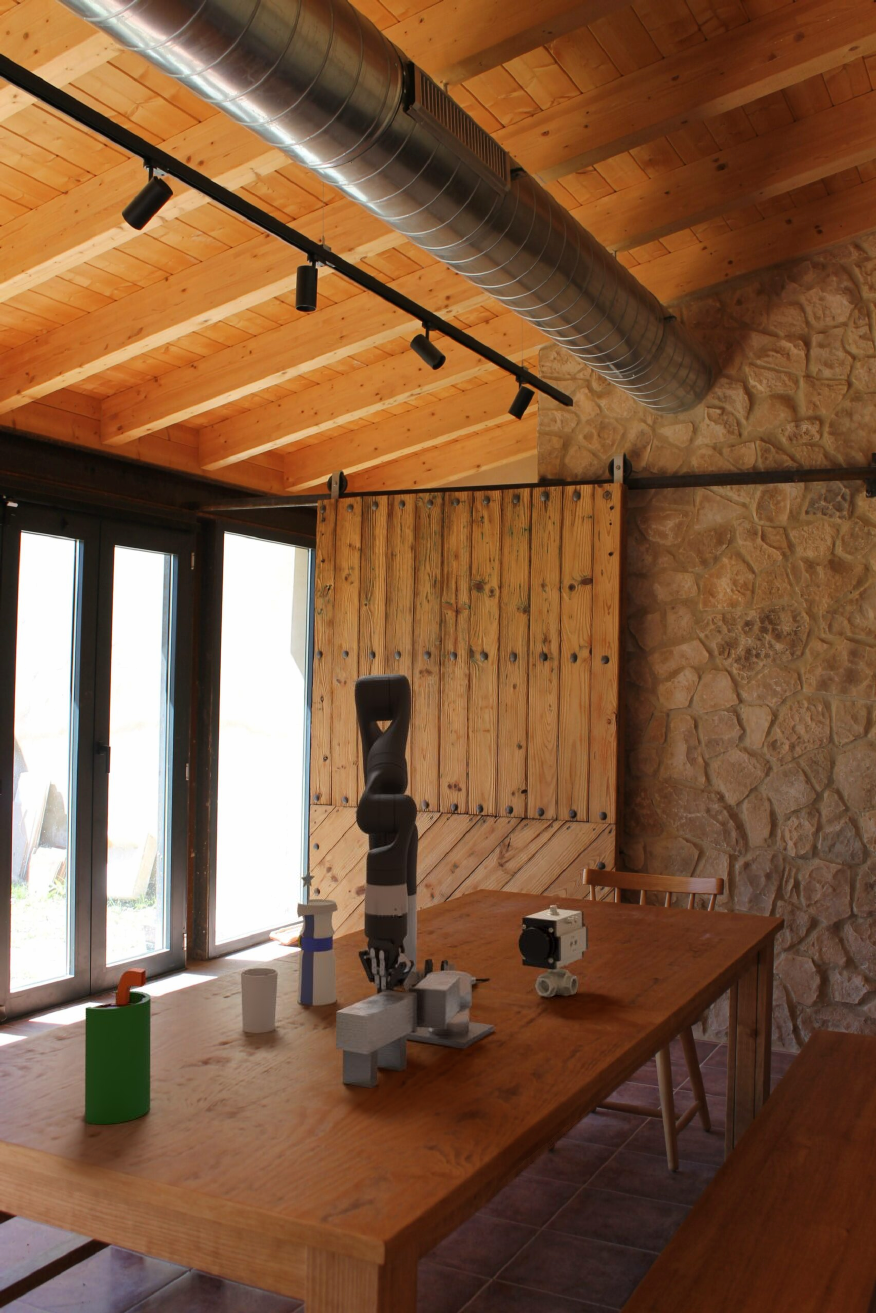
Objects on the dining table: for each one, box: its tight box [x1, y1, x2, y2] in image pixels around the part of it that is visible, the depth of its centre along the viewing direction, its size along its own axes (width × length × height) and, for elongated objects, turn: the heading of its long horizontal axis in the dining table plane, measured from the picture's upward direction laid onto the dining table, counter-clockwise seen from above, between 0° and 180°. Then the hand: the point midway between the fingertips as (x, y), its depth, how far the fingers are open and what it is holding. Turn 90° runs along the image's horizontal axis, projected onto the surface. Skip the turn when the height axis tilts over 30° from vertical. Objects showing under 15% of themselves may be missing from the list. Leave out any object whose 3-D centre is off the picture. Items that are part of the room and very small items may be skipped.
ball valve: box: [518, 904, 589, 998], centre depth 223 cm, size 18×8×18 cm, turn 148°
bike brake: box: [403, 958, 491, 991], centre depth 229 cm, size 14×7×20 cm
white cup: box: [240, 967, 279, 1034], centre depth 198 cm, size 7×7×10 cm
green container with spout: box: [84, 967, 152, 1125], centre depth 156 cm, size 10×9×20 cm
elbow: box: [408, 970, 472, 1029], centre depth 189 cm, size 19×8×6 cm, turn 165°
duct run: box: [335, 988, 417, 1089], centre depth 172 cm, size 15×6×11 cm, turn 152°
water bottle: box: [296, 870, 338, 1006], centre depth 217 cm, size 8×9×25 cm
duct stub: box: [407, 1007, 495, 1049], centre depth 194 cm, size 12×12×5 cm
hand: (385, 1009), depth 189 cm, fingers closed
